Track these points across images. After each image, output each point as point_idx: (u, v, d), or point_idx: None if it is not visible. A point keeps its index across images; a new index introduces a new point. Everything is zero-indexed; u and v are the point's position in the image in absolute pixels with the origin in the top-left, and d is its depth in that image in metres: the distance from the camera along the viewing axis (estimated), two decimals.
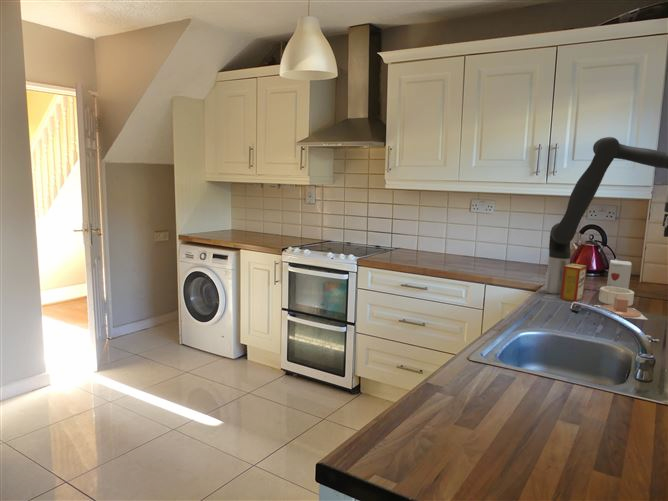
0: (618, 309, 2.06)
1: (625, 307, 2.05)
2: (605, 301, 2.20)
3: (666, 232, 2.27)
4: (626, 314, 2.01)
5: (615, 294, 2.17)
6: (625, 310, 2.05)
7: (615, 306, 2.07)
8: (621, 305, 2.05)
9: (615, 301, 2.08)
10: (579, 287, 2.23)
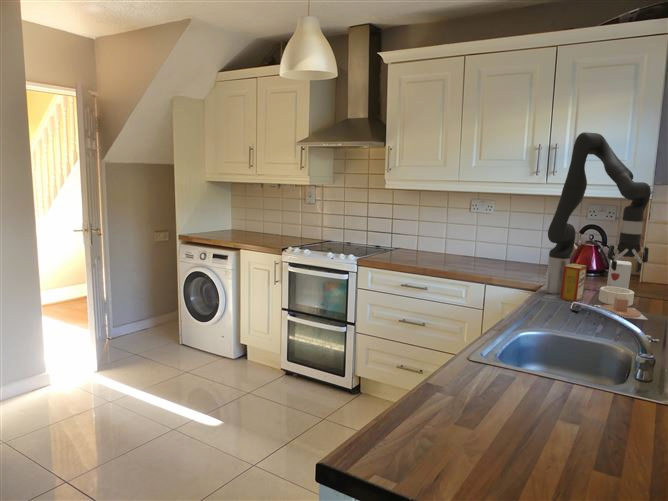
0: (618, 309, 2.06)
1: (625, 307, 2.05)
2: (605, 301, 2.20)
3: None
4: (626, 314, 2.01)
5: (615, 294, 2.17)
6: (625, 310, 2.05)
7: (615, 306, 2.07)
8: (621, 305, 2.05)
9: (615, 301, 2.08)
10: (579, 287, 2.23)
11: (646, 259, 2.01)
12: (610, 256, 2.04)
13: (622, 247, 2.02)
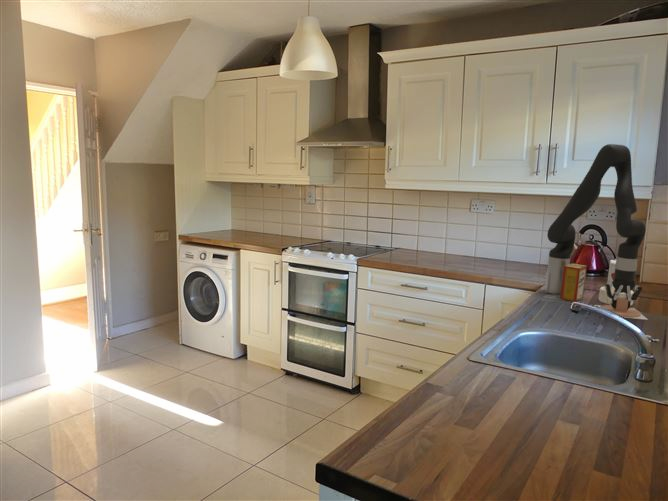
0: (618, 309, 2.06)
1: (625, 307, 2.05)
2: (605, 301, 2.20)
3: None
4: (626, 314, 2.01)
5: None
6: (625, 310, 2.05)
7: None
8: (621, 305, 2.05)
9: None
10: (579, 287, 2.23)
11: (635, 297, 2.04)
12: (609, 295, 2.06)
13: (617, 283, 2.05)
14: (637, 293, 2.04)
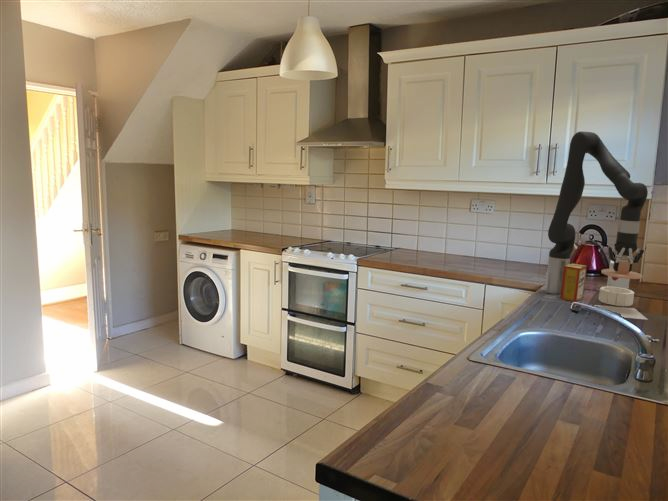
0: (620, 272, 2.08)
1: (627, 269, 2.07)
2: (605, 301, 2.20)
3: None
4: (627, 276, 2.04)
5: (615, 294, 2.17)
6: (627, 272, 2.08)
7: None
8: (623, 268, 2.08)
9: None
10: (579, 287, 2.23)
11: (637, 260, 2.07)
12: (611, 257, 2.09)
13: (619, 245, 2.07)
14: (639, 256, 2.06)
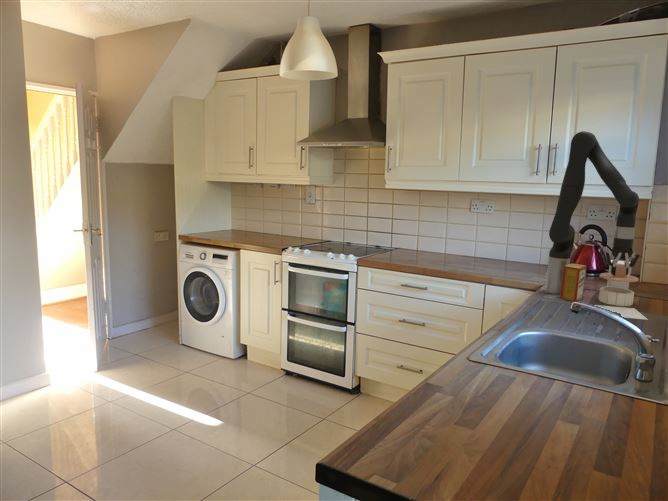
0: (617, 275, 2.19)
1: (623, 273, 2.18)
2: (605, 301, 2.20)
3: None
4: (624, 279, 2.15)
5: (615, 294, 2.17)
6: (623, 276, 2.19)
7: None
8: (620, 271, 2.19)
9: None
10: (579, 287, 2.23)
11: (633, 264, 2.18)
12: (609, 262, 2.20)
13: (615, 251, 2.19)
14: (635, 260, 2.17)
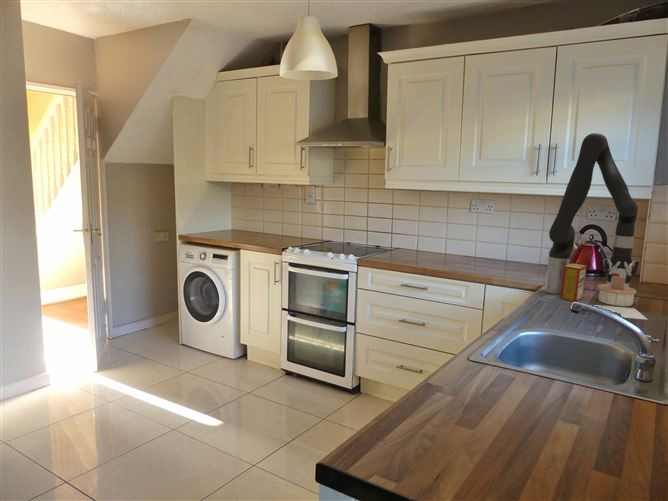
0: (615, 287, 2.20)
1: (622, 285, 2.20)
2: (605, 301, 2.20)
3: None
4: (623, 291, 2.16)
5: (615, 294, 2.17)
6: (622, 288, 2.20)
7: (612, 284, 2.22)
8: (618, 283, 2.20)
9: (612, 280, 2.22)
10: (579, 287, 2.23)
11: (634, 272, 2.18)
12: (605, 269, 2.21)
13: (615, 259, 2.19)
14: (635, 268, 2.18)
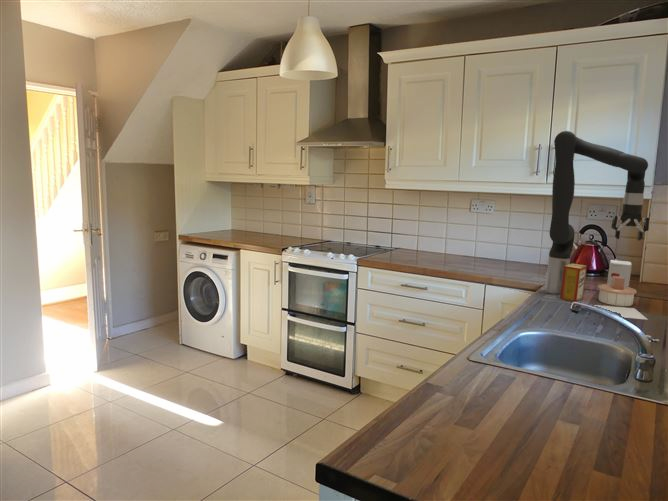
0: (615, 287, 2.20)
1: (622, 285, 2.20)
2: (605, 301, 2.20)
3: None
4: (623, 291, 2.16)
5: (615, 294, 2.17)
6: (622, 288, 2.20)
7: (612, 284, 2.22)
8: (618, 283, 2.20)
9: (612, 280, 2.22)
10: (579, 287, 2.23)
11: (647, 228, 2.19)
12: (614, 226, 2.23)
13: (625, 217, 2.21)
14: (647, 224, 2.19)
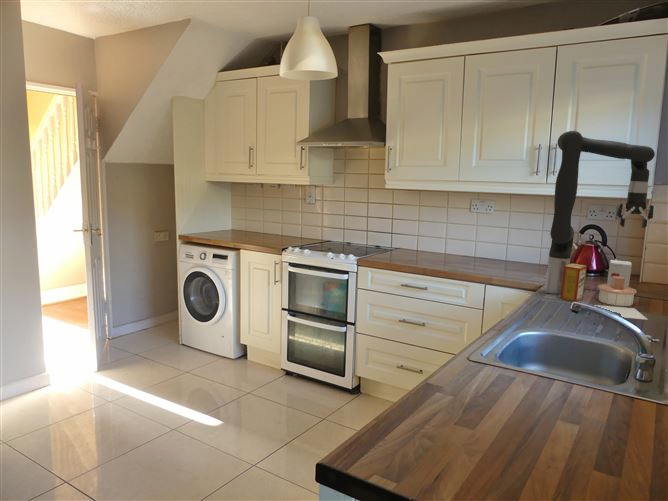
0: (615, 287, 2.20)
1: (622, 285, 2.20)
2: (605, 301, 2.20)
3: None
4: (623, 291, 2.16)
5: (615, 294, 2.17)
6: (622, 288, 2.20)
7: (612, 284, 2.22)
8: (618, 283, 2.20)
9: (612, 280, 2.22)
10: (579, 287, 2.23)
11: (651, 216, 2.24)
12: (619, 213, 2.28)
13: (630, 205, 2.26)
14: (651, 211, 2.24)
